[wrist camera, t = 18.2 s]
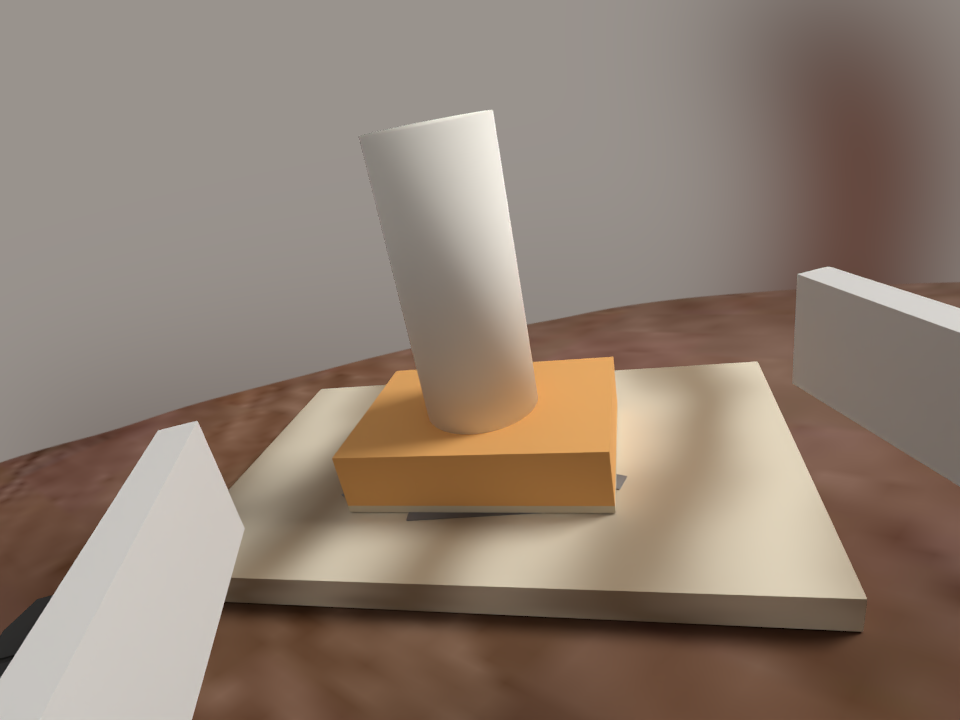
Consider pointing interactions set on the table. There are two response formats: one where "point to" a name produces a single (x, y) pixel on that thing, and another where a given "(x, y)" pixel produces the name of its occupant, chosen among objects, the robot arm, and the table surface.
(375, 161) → the block
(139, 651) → the robot arm
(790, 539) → the plywood board
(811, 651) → the table surface
